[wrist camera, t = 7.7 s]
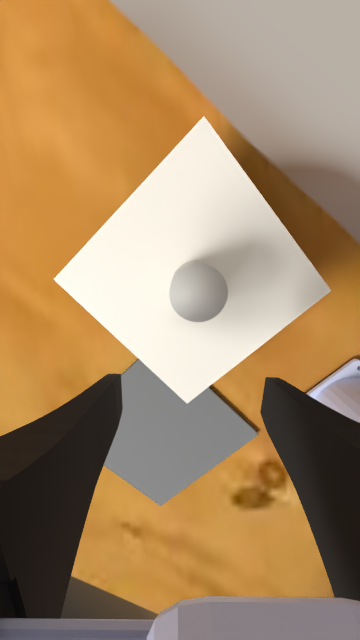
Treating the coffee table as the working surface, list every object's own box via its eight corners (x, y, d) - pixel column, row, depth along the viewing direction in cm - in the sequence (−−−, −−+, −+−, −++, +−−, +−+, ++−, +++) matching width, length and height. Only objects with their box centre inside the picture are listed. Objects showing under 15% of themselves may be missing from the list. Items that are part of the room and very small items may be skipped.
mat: (257, 431, 25) (258, 434, 24) (160, 502, 27) (160, 505, 27) (158, 339, 21) (158, 341, 21) (61, 430, 24) (59, 433, 24)
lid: (325, 289, 16) (375, 301, 12) (186, 398, 18) (189, 439, 14) (202, 122, 13) (213, 64, 9) (58, 278, 15) (16, 287, 11)
